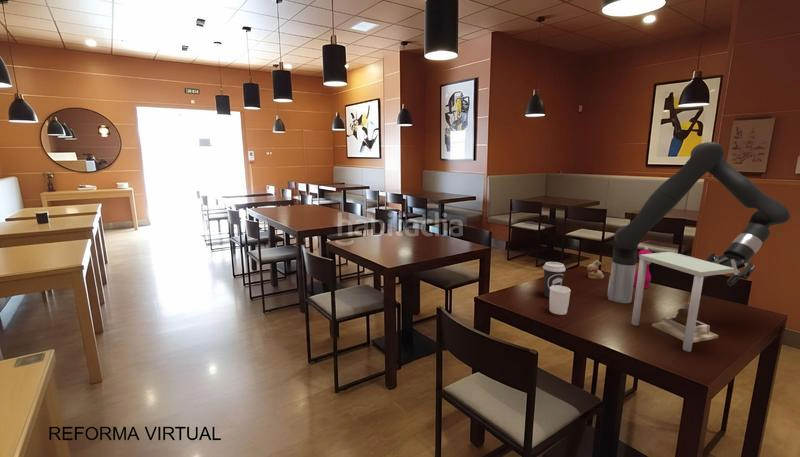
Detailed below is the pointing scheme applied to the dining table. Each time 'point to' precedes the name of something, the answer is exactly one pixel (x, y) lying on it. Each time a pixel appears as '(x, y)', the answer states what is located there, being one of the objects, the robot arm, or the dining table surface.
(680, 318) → the utensil holder
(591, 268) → the chocolate bunny
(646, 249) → the pepper mill
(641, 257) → the white bench
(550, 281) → the coffee cup
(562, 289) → the white cup
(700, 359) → the dining table surface
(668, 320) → the socket block
